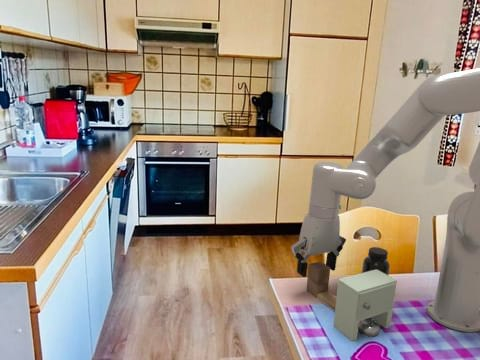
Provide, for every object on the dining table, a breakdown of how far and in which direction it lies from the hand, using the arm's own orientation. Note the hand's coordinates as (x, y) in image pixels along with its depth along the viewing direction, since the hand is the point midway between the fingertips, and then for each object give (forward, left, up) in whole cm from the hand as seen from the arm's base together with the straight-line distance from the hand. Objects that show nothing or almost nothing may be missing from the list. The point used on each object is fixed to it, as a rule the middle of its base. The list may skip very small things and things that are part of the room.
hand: (316, 271), depth 104 cm
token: (-1, +19, -6) cm, 20 cm away
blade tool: (-1, +6, -6) cm, 8 cm away
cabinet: (-1, +17, -6) cm, 18 cm away
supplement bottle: (-16, +6, -6) cm, 18 cm away
